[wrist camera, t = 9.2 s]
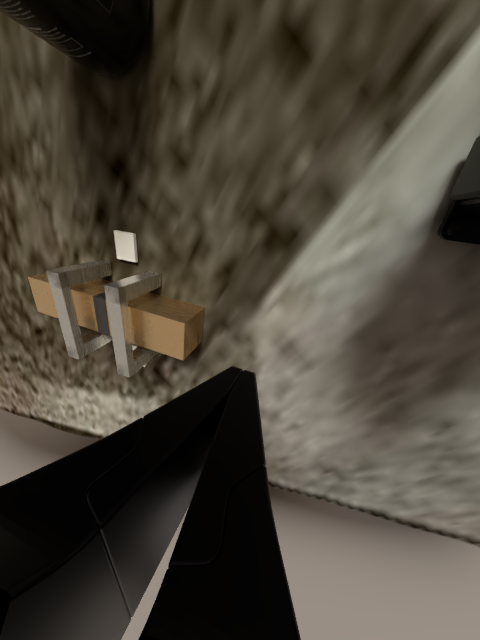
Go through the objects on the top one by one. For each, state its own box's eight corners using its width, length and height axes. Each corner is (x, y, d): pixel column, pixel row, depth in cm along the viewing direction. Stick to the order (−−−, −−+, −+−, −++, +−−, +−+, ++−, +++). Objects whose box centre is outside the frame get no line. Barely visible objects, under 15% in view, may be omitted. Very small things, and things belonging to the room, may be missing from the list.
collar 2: (160, 273, 20) (117, 288, 16) (163, 348, 23) (129, 377, 19) (149, 271, 20) (103, 284, 16) (153, 345, 24) (117, 373, 19)
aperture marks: (135, 233, 19) (133, 233, 19) (146, 365, 25) (144, 366, 25) (116, 230, 20) (113, 230, 19) (131, 360, 26) (130, 361, 25)
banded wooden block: (205, 307, 20) (184, 323, 17) (202, 340, 21) (182, 361, 18) (65, 268, 23) (27, 276, 20) (72, 300, 25) (37, 311, 22)
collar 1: (110, 262, 21) (57, 273, 17) (120, 335, 25) (79, 359, 20) (100, 260, 21) (45, 270, 17) (111, 332, 25) (68, 355, 21)
